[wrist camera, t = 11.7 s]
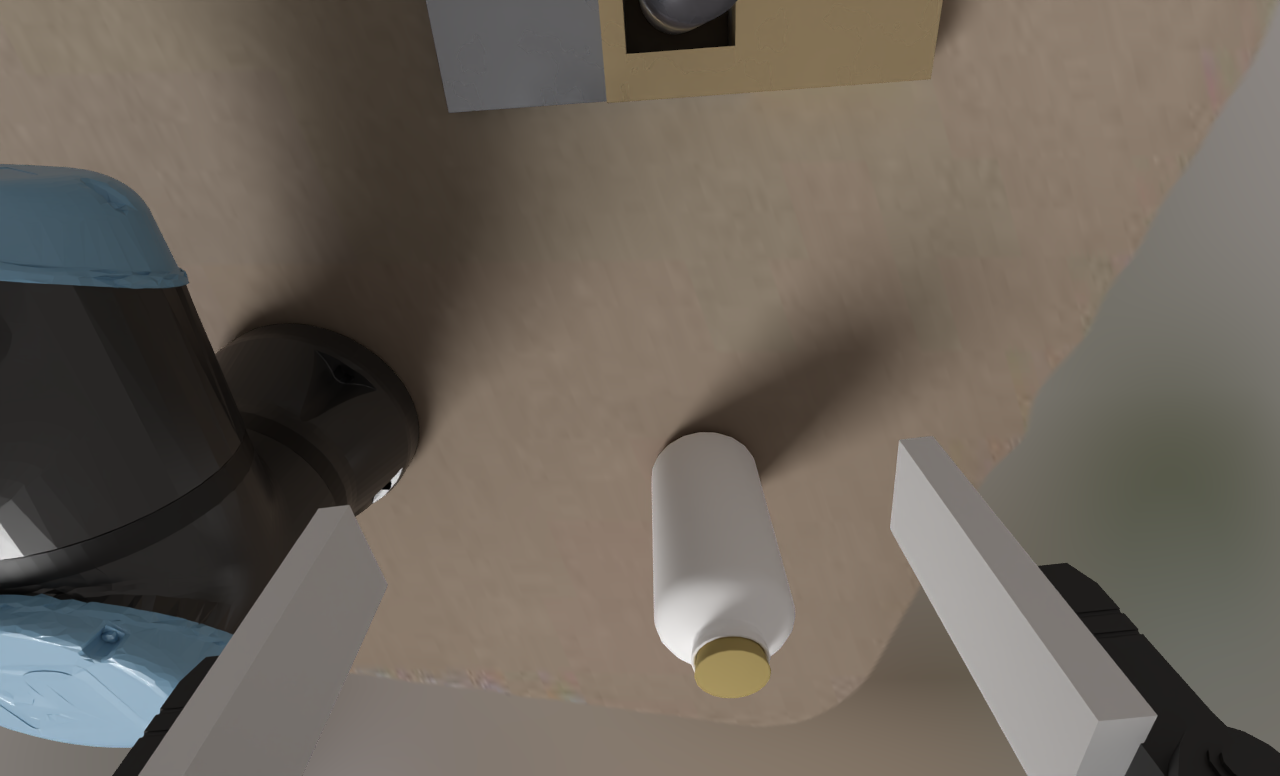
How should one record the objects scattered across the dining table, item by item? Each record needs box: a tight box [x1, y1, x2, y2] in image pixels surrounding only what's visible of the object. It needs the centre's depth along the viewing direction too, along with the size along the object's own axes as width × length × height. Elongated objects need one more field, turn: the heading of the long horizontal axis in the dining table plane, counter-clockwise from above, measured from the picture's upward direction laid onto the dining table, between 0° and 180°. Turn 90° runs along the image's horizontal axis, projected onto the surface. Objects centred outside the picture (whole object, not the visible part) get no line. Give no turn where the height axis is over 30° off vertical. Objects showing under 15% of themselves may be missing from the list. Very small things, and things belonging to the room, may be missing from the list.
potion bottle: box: [652, 432, 795, 698], centre depth 39 cm, size 8×8×18 cm
